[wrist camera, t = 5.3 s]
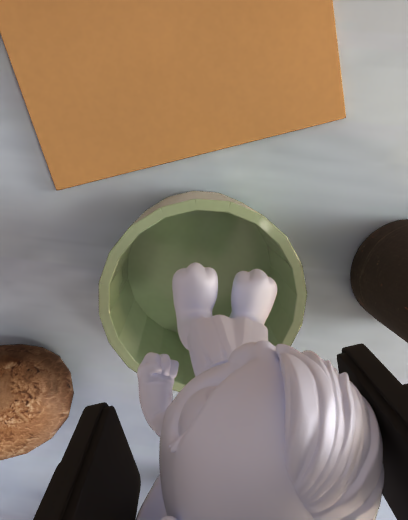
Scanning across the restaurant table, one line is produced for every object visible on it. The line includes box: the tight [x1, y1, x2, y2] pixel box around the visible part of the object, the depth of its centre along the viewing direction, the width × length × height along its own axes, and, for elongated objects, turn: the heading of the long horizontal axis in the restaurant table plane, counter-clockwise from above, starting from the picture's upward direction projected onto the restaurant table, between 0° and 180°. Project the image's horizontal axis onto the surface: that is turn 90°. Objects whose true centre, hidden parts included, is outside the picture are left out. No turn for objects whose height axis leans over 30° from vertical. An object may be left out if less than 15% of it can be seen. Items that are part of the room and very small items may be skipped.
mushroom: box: [0, 344, 74, 460], centre depth 24 cm, size 8×8×6 cm
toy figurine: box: [136, 262, 384, 520], centre depth 11 cm, size 7×6×12 cm
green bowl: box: [99, 191, 307, 392], centre depth 22 cm, size 12×12×6 cm
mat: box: [0, 0, 346, 190], centre depth 21 cm, size 20×12×1 cm, turn 104°
